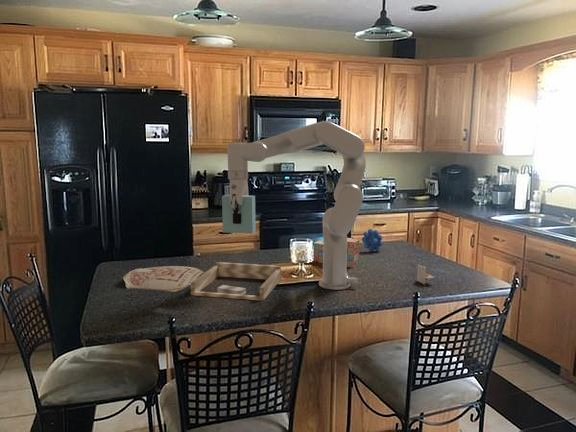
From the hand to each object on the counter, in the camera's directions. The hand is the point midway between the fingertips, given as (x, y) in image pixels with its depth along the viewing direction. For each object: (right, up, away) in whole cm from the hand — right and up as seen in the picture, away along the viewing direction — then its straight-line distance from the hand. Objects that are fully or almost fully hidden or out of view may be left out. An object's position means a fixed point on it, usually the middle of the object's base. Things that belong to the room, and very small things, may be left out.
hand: (239, 222), depth 188 cm
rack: (-1, -27, +3) cm, 27 cm away
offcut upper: (-2, -27, -5) cm, 27 cm away
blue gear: (+63, -16, +63) cm, 90 cm away
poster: (-32, -25, +16) cm, 44 cm away
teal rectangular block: (0, -4, +1) cm, 4 cm away
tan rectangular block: (+41, -20, +42) cm, 62 cm away
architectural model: (+74, -26, +12) cm, 80 cm away
